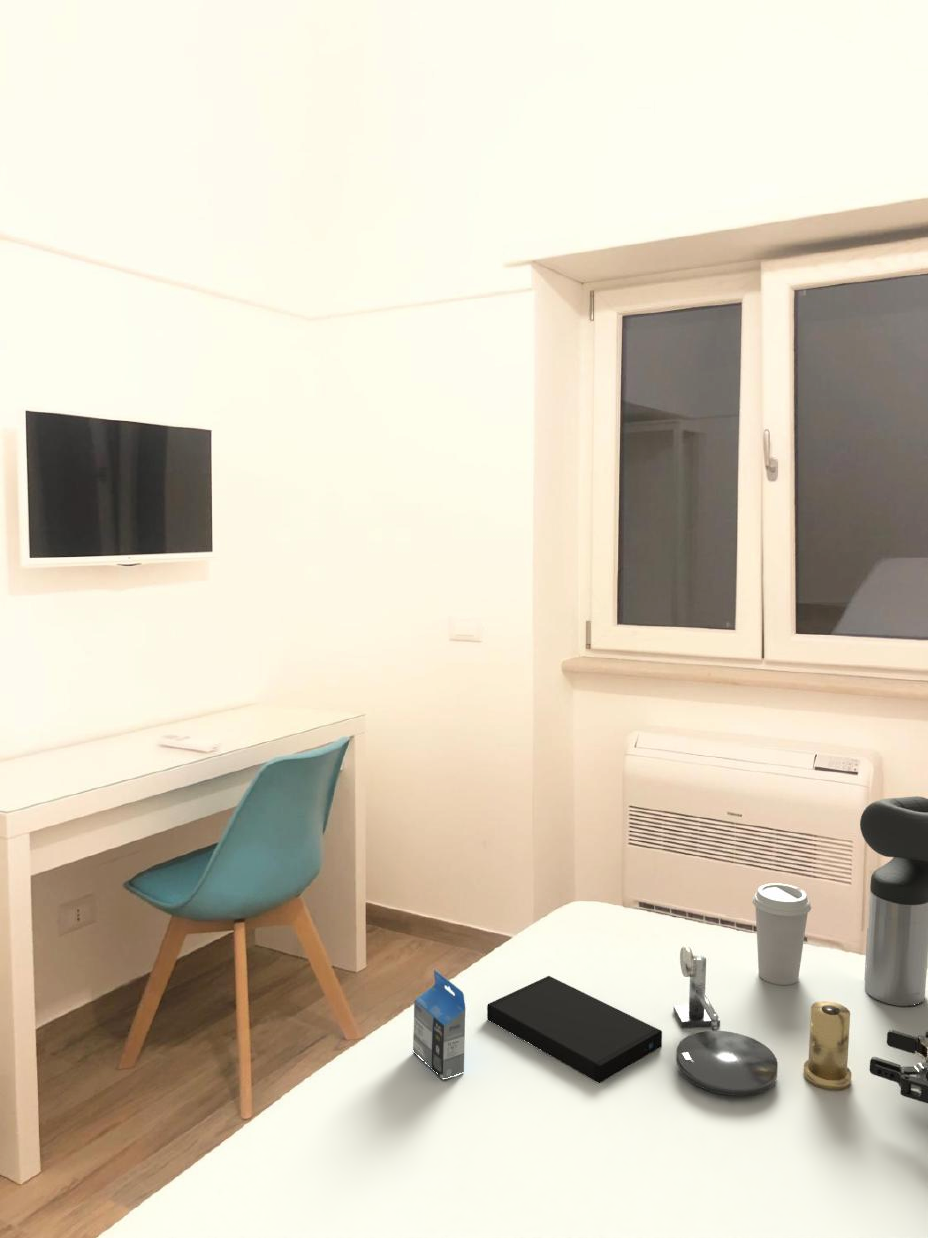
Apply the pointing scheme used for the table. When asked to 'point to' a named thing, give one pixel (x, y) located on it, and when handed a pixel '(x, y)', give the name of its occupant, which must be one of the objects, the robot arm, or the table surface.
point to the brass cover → (828, 1047)
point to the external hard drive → (575, 1028)
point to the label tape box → (440, 1027)
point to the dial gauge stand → (695, 994)
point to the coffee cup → (780, 931)
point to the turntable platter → (727, 1063)
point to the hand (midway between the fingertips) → (879, 1050)
